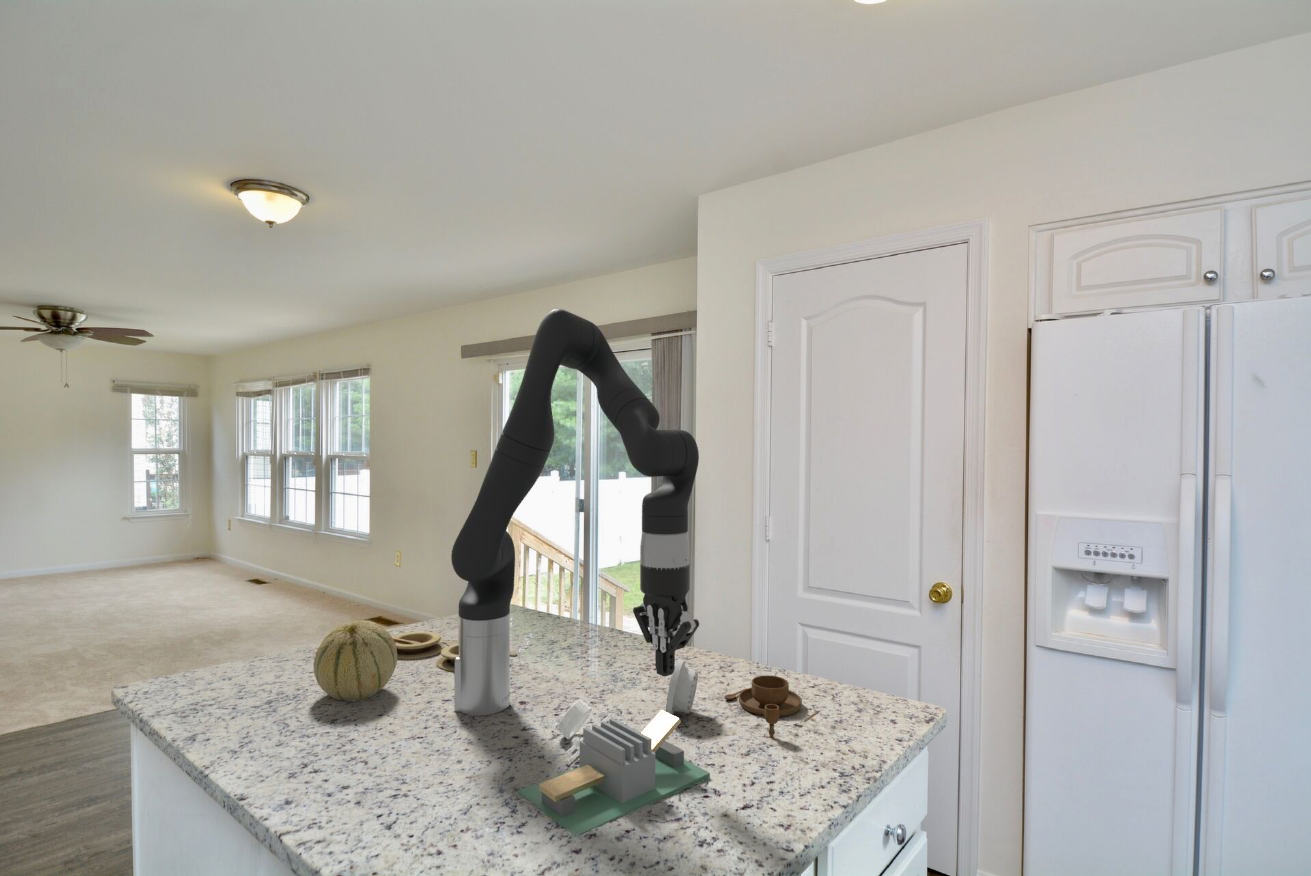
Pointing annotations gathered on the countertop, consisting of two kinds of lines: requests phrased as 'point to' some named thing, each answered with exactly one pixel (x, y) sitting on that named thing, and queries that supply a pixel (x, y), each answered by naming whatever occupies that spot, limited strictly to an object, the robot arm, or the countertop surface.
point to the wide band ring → (575, 724)
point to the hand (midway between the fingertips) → (664, 674)
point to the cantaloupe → (355, 660)
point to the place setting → (770, 700)
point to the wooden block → (661, 728)
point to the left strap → (571, 783)
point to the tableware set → (428, 648)
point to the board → (611, 808)
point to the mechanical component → (681, 689)
